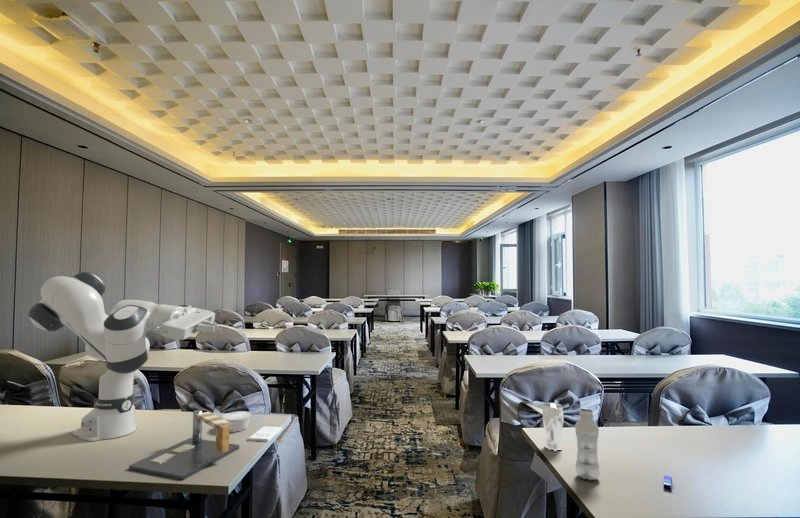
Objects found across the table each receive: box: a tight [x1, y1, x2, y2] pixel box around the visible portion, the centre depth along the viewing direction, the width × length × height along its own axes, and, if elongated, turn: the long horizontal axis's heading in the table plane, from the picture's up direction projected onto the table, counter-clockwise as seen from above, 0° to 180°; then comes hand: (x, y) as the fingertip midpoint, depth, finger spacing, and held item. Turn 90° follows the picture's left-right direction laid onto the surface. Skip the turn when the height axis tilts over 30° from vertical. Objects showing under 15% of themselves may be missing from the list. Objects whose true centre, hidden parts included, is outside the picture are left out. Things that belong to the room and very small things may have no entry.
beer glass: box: [542, 402, 564, 451], centre depth 143 cm, size 7×7×15 cm
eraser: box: [662, 475, 673, 491], centre depth 116 cm, size 2×6×2 cm, turn 143°
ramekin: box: [221, 410, 252, 433], centre depth 163 cm, size 11×11×5 cm
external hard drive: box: [247, 425, 283, 443], centre depth 155 cm, size 2×8×12 cm
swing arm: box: [197, 411, 233, 453], centre depth 139 cm, size 20×4×8 cm, turn 49°
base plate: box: [128, 409, 240, 481], centre depth 135 cm, size 22×24×12 cm
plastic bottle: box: [574, 408, 601, 481], centre depth 121 cm, size 6×7×20 cm
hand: (216, 328), depth 123 cm, fingers closed
